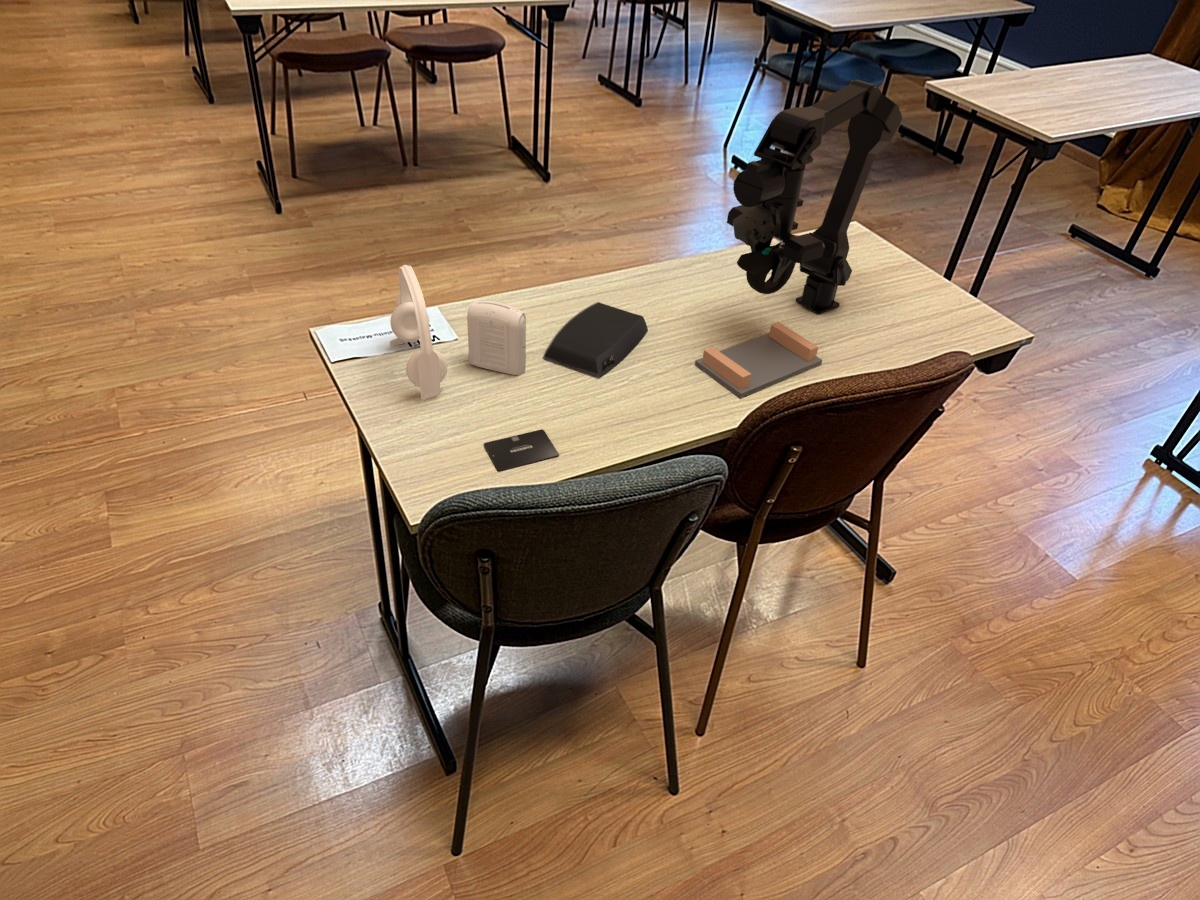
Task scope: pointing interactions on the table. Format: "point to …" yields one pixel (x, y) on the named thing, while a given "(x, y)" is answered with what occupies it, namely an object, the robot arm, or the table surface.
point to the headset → (417, 335)
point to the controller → (763, 270)
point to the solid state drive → (520, 450)
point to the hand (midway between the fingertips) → (765, 277)
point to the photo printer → (497, 337)
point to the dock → (760, 361)
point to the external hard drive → (596, 339)
